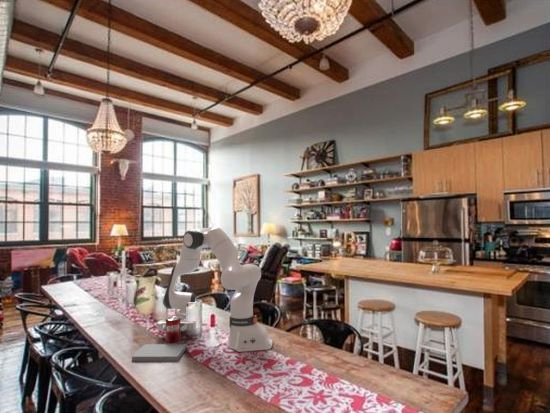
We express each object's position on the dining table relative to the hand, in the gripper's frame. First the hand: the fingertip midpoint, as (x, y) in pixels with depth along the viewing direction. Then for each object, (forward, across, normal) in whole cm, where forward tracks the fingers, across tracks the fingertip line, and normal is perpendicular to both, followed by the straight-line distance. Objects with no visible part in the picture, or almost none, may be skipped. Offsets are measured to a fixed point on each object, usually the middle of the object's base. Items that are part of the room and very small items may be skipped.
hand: (172, 329), depth 163 cm
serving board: (+14, -1, +7) cm, 16 cm away
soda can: (-1, 0, +7) cm, 7 cm away
